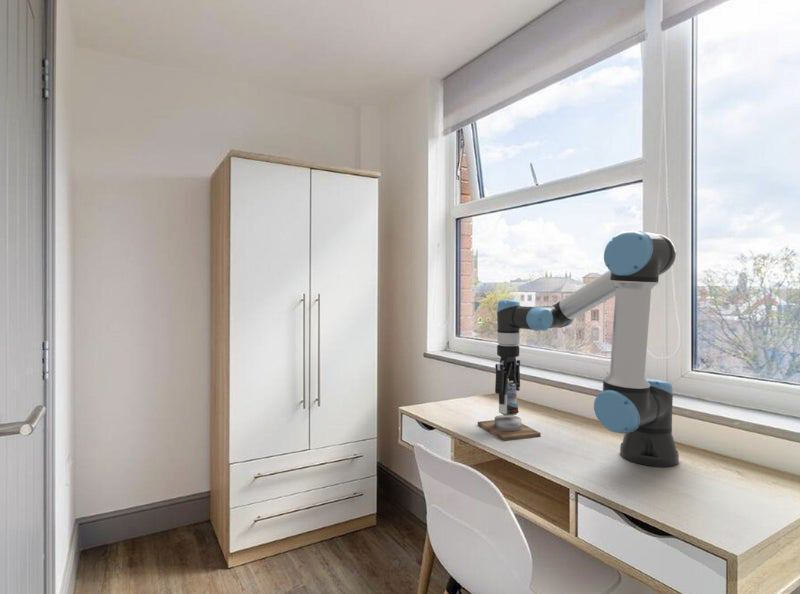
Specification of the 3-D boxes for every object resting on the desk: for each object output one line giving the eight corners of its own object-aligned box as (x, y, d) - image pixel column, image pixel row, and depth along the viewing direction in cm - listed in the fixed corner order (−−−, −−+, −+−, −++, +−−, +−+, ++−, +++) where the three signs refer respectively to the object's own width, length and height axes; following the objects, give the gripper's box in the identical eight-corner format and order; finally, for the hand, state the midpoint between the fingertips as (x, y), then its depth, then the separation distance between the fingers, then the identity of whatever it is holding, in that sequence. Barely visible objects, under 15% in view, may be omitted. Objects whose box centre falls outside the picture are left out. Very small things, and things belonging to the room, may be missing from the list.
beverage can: (513, 419, 158) (513, 383, 158) (493, 415, 163) (494, 380, 163) (521, 415, 163) (522, 380, 163) (502, 411, 168) (503, 378, 168)
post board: (540, 436, 157) (540, 424, 157) (503, 440, 153) (503, 427, 152) (512, 421, 174) (512, 410, 174) (477, 425, 170) (477, 413, 170)
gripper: (511, 341, 172) (511, 403, 173) (484, 346, 158) (484, 414, 158) (530, 342, 167) (530, 407, 168) (504, 348, 153) (504, 419, 153)
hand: (507, 410), depth 163 cm, fingers closed on beverage can, 6 cm apart
